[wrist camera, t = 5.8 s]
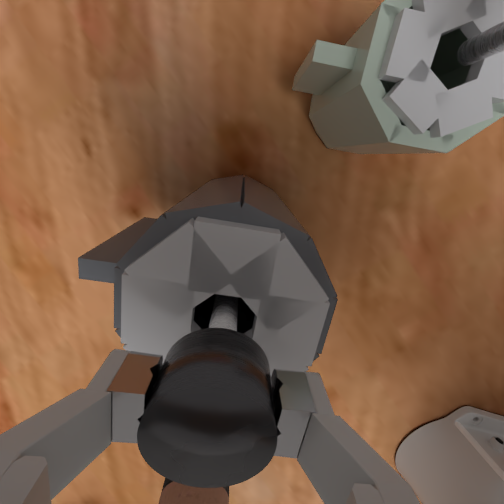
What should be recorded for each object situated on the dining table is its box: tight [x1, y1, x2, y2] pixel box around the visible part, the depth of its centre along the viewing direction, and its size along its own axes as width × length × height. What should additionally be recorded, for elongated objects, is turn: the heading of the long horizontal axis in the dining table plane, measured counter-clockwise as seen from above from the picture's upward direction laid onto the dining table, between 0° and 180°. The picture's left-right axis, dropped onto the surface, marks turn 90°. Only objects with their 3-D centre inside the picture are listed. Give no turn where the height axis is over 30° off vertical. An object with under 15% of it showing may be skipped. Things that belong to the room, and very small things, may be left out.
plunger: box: [137, 294, 277, 488], centre depth 13 cm, size 4×4×13 cm
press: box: [78, 175, 338, 384], centre depth 21 cm, size 13×11×18 cm
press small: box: [292, 0, 504, 154], centre depth 19 cm, size 10×8×14 cm
